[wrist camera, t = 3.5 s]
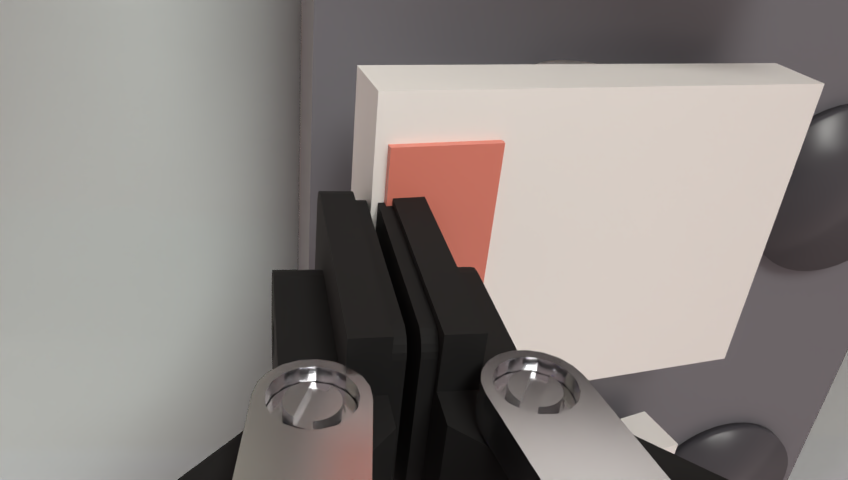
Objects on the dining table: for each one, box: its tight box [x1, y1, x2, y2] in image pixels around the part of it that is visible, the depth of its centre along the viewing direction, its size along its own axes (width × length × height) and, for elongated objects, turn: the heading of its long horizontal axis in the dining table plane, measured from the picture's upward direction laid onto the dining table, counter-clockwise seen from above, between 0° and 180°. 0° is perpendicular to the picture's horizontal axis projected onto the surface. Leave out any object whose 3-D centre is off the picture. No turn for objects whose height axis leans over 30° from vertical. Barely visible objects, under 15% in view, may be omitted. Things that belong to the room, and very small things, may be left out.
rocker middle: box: [351, 60, 824, 380], centre depth 14 cm, size 8×6×2 cm
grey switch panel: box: [298, 0, 848, 480], centre depth 17 cm, size 14×36×4 cm, turn 175°
